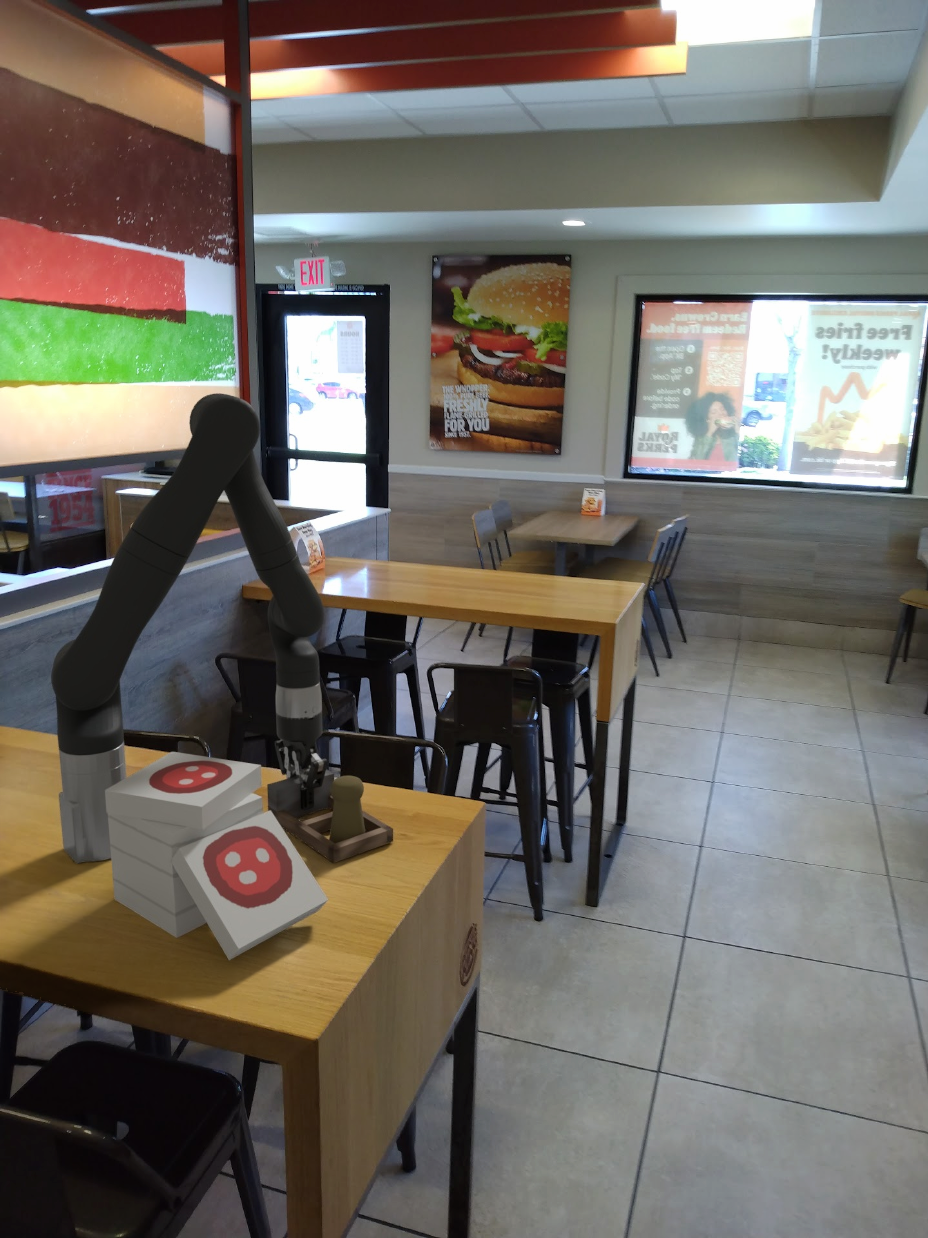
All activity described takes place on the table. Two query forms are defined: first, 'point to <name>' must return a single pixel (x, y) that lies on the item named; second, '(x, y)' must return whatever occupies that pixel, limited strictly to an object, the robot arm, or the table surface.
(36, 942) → the table surface
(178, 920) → the pizza boxes
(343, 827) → the cork
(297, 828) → the divided wooden tray frame
